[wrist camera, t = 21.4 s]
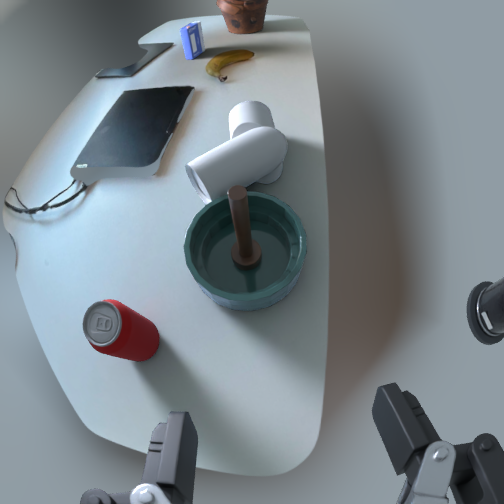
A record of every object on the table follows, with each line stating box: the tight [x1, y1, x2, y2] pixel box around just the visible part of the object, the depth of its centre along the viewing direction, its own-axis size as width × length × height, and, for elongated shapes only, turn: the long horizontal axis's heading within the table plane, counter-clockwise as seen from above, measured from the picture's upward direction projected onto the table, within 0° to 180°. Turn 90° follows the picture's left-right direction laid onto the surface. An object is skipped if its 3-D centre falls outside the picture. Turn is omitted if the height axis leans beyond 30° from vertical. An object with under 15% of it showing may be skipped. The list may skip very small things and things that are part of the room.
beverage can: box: [83, 299, 159, 361], centre depth 34 cm, size 7×7×12 cm
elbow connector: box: [185, 101, 287, 205], centre depth 48 cm, size 18×11×20 cm
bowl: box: [184, 191, 307, 311], centre depth 42 cm, size 17×17×6 cm
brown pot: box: [217, 0, 268, 34], centre depth 77 cm, size 18×20×18 cm
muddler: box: [228, 185, 262, 270], centre depth 37 cm, size 4×4×16 cm
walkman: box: [180, 21, 205, 59], centre depth 71 cm, size 8×3×12 cm, turn 156°
